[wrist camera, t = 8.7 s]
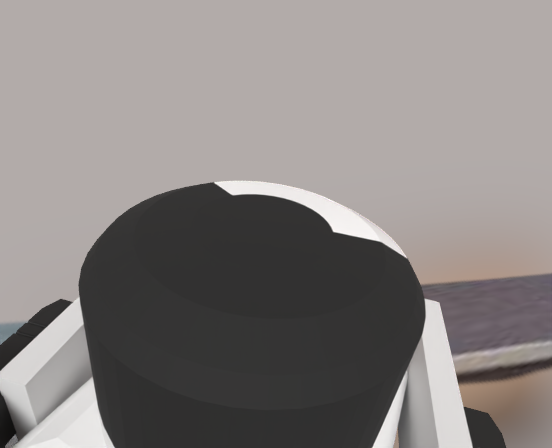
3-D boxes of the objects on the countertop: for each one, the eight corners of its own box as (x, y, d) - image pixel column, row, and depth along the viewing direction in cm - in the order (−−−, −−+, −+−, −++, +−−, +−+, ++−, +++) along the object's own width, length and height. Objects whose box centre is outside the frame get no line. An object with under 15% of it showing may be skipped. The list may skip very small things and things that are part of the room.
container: (272, 794, 9) (478, 591, 3) (51, 595, 12) (-103, 249, 5) (356, 490, 16) (480, 211, 9) (199, 401, 18) (210, 134, 12)
